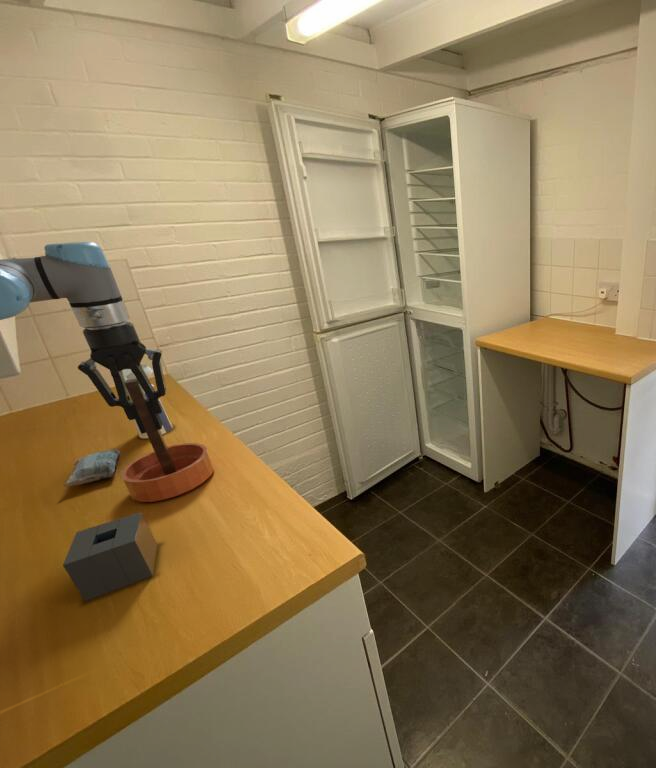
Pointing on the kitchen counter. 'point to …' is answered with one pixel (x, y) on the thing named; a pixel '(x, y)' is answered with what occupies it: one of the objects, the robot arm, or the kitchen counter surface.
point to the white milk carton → (148, 371)
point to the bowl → (152, 483)
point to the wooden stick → (150, 426)
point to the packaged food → (94, 467)
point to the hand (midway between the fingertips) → (152, 428)
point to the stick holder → (111, 556)
